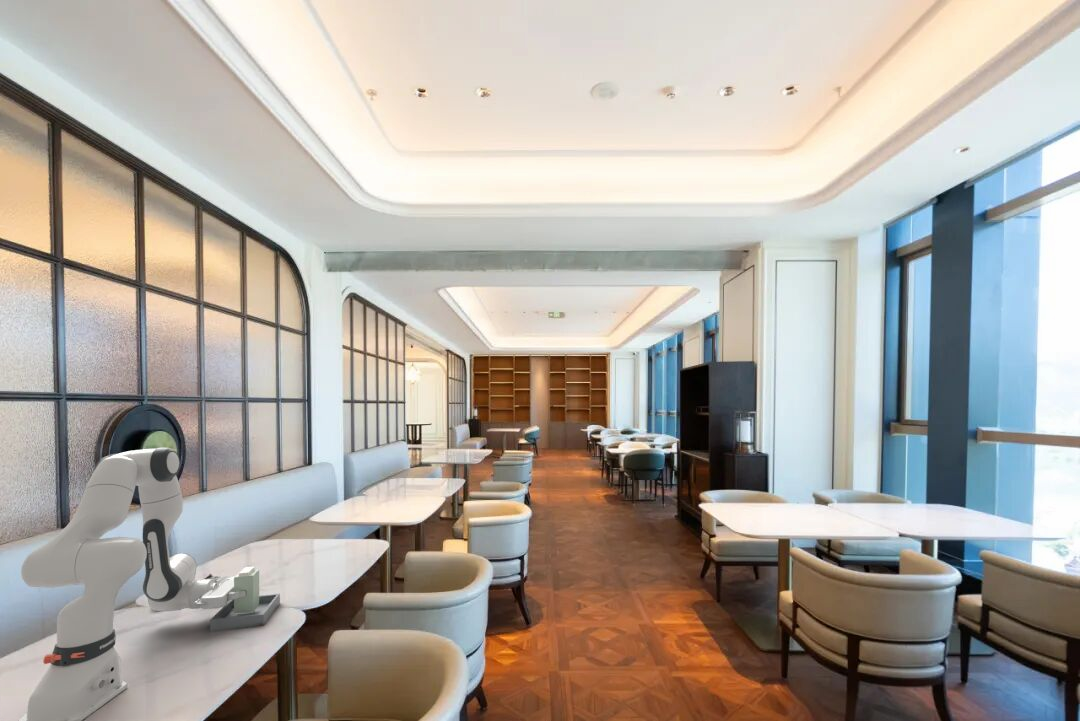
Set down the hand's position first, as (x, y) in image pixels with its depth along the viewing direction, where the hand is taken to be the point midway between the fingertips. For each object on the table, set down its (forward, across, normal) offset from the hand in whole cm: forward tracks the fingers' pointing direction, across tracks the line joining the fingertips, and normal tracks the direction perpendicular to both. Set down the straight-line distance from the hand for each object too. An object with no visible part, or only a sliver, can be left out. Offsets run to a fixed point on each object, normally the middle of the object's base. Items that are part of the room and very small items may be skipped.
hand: (249, 589), depth 178 cm
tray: (-1, 0, +9) cm, 9 cm away
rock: (-20, +22, +10) cm, 31 cm away
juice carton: (-1, 0, +6) cm, 7 cm away
